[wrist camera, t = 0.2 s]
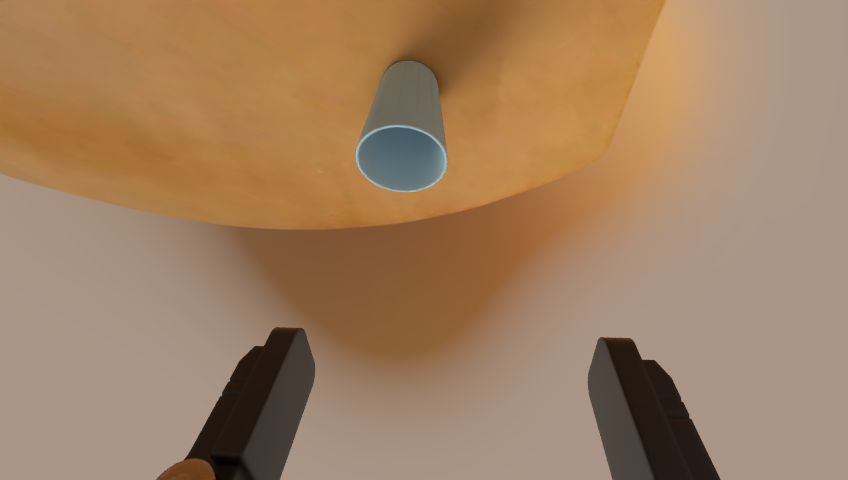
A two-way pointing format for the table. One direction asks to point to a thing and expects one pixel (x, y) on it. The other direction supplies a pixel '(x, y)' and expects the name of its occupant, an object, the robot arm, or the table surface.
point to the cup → (404, 131)
